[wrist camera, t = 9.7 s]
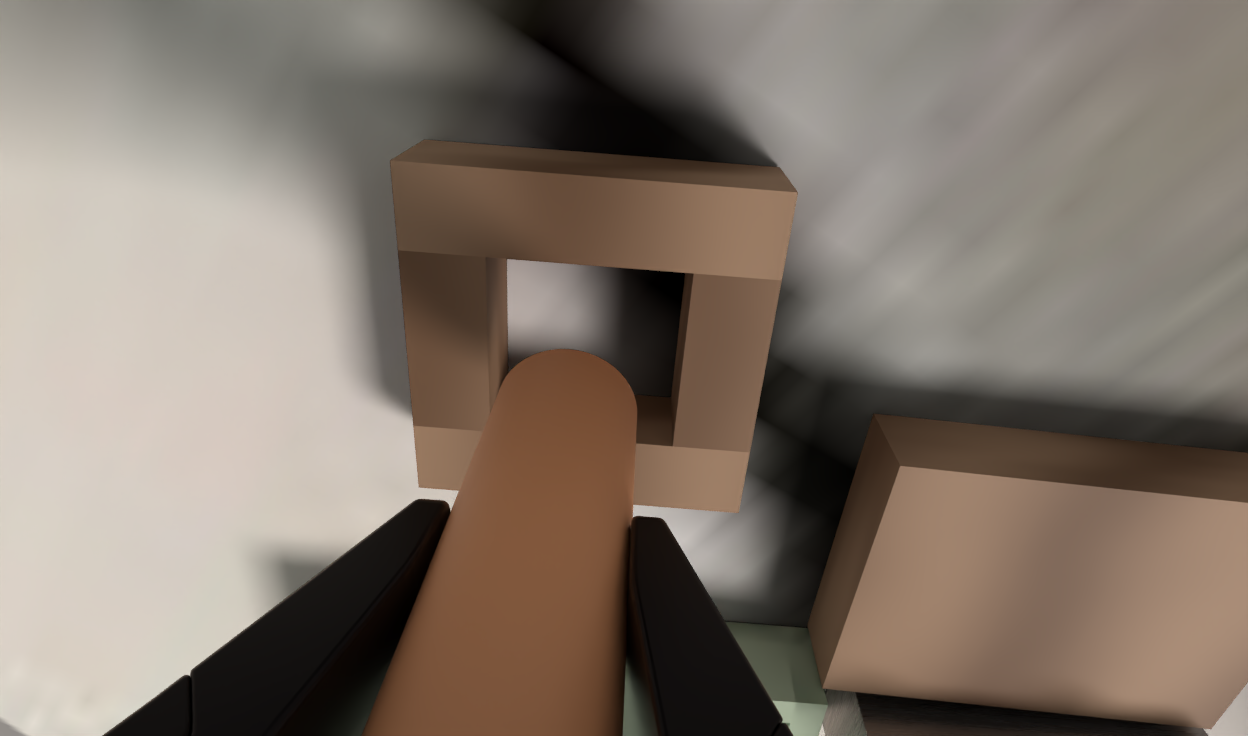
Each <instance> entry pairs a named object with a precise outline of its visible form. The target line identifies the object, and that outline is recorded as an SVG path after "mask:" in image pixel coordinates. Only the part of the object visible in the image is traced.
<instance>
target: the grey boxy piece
mask: <svg viewBox="0 0 1248 736" xmlns="http://www.w3.org/2000/svg"><path fill="white" fill-rule="evenodd" d="M825 695H826V699H827V703H828V707H827V710H826V713H825V716H824V719H823V727H824V732H825V736H1208V735H1207V733H1206V732H1205V731H1204V729H1203V728H1195V727H1185V726H1175V725H1166V724H1156V723H1147V722H1137V721H1128V720H1118V719H1109V718H1099V717H1089V716H1080V715H1070V714H1061V713H1051V712H1042V711H1032V710H1023V709H1013V708H1003V707H994V706H984V705H975V704H965V703H956V702H946V701H937V700H927V699H917V698H908V697H898V696H889V695H879V694H870V693H860V692H851V691H841V690H832V689H827V691H826V694H825Z"/></svg>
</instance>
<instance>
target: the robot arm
mask: <svg viewBox="0 0 1248 736" xmlns="http://www.w3.org/2000/svg"><path fill="white" fill-rule="evenodd" d="M449 515H450V507H449V504H448V503H447V502H445V501H441V500H429V499H418V500H415V501H413V502H412V503H411V504H409V505H408V506H407V507H405V508H404V509H403V510H401V511H400V512H399V513H397V514H396V515H395V516H394V517H392V518H391V519H390V520H388V521H387V522H386V523H384V524H383V525H382V526H380V527H379V528H378V529H376V530H375V531H374V532H372V533H371V534H370V535H368V536H367V537H366V538H365V539H363V540H362V541H361V542H359V543H358V544H357V545H355V546H354V547H353V548H351V549H350V550H349V551H347V552H346V553H345V554H343V555H342V556H341V557H339V558H338V559H337V560H336V561H334V562H333V563H332V564H330V565H329V566H328V567H326V568H325V569H324V570H322V571H321V572H320V573H318V574H317V575H316V576H314V577H313V578H312V579H311V580H309V581H308V582H307V583H305V584H304V585H303V586H301V587H300V588H299V589H297V590H296V591H295V592H293V593H292V594H291V595H289V596H288V597H287V598H285V599H284V600H283V601H282V602H280V603H279V604H278V605H276V606H275V607H274V608H272V609H271V610H270V611H268V612H267V613H266V614H264V615H263V616H262V617H260V618H259V619H258V620H256V621H255V622H254V623H253V624H251V625H250V626H249V627H247V628H246V629H245V630H243V631H242V632H241V633H239V634H238V635H237V636H235V637H234V638H233V639H231V640H230V641H229V642H228V643H226V644H225V645H224V646H222V647H221V648H220V649H218V650H217V651H216V652H214V653H213V654H212V655H210V656H209V657H208V658H206V659H205V660H204V661H202V662H201V663H200V664H199V665H197V666H196V667H195V668H193V669H192V670H191V673H190V676H189V675H184V676H182V677H181V678H180V679H178V680H177V681H176V682H174V683H173V684H172V685H170V686H169V687H168V688H166V689H165V690H164V691H163V692H161V693H160V694H159V695H157V696H156V697H155V698H153V699H152V700H151V701H149V702H148V703H146V704H145V705H144V706H142V707H141V708H140V709H138V710H137V711H135V712H134V713H133V714H131V715H130V716H129V717H127V718H126V719H125V720H123V721H122V722H120V723H119V724H118V725H116V726H115V727H114V728H112V729H111V730H109V731H108V732H107V733H105V734H104V735H103V736H361V735H362V733H363V730H364V728H365V725H366V723H367V720H368V718H369V715H370V713H371V710H372V708H373V705H374V703H375V700H376V698H377V695H378V693H379V690H380V688H381V685H382V683H383V680H384V678H385V675H386V673H387V670H388V668H389V665H390V663H391V660H392V658H393V655H394V653H395V650H396V648H397V645H398V643H399V640H400V638H401V635H402V633H403V630H404V628H405V625H406V623H407V620H408V618H409V615H410V613H411V610H412V608H413V605H414V603H415V600H416V598H417V595H418V593H419V590H420V588H421V585H422V583H423V580H424V578H425V575H426V573H427V570H428V568H429V565H430V563H431V560H432V558H433V555H434V553H435V550H436V548H437V545H438V543H439V540H440V538H441V535H442V532H443V530H444V527H445V525H446V522H447V520H448V517H449ZM782 721H783V718H782V716H781V714H780V713H779V711H778V709H777V708H776V706H775V704H774V703H773V701H772V699H771V698H770V696H769V694H768V693H767V691H766V689H765V688H764V686H763V684H762V683H761V681H760V679H759V678H758V676H757V674H756V673H755V671H754V669H753V668H752V666H751V664H750V663H749V661H748V659H747V658H746V656H745V654H744V653H743V651H742V649H741V647H740V646H739V644H738V642H737V641H736V639H735V637H734V636H733V634H732V632H731V631H730V629H729V627H728V626H727V624H726V622H725V621H724V619H723V617H722V616H721V614H720V612H719V611H718V609H717V607H716V606H715V604H714V602H713V601H712V599H711V597H710V596H709V594H708V592H707V591H706V589H705V587H704V586H703V584H702V582H701V581H700V579H699V577H698V576H697V574H696V572H695V571H694V569H693V567H692V566H691V564H690V562H689V561H688V559H687V557H686V556H685V554H684V552H683V551H682V549H681V547H680V546H679V544H678V542H677V541H676V539H675V537H674V536H673V534H672V532H671V531H670V529H669V527H668V526H667V524H666V522H665V521H664V520H663V519H661V518H656V517H643V516H635V517H633V519H632V521H631V529H630V550H629V571H628V591H627V651H626V673H625V695H624V717H623V736H793V734H792V732H791V730H790V729H789V727H788V725H787V724H785V723H782Z"/></svg>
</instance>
